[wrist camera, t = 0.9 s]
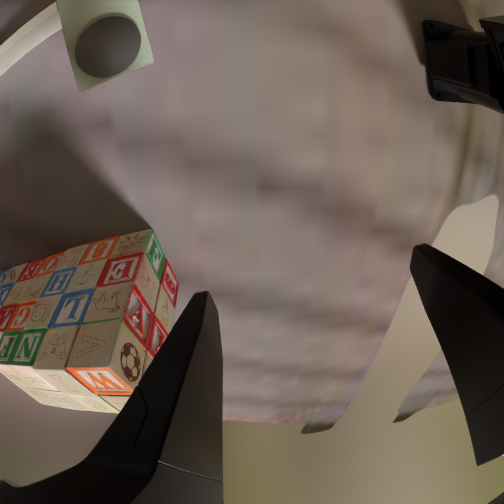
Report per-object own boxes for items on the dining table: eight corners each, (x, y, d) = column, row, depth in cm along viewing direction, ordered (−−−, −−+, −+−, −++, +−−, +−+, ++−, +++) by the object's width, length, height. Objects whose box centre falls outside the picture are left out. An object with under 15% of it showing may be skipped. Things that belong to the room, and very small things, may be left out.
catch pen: (70, -61, 5) (49, -72, 2) (82, 15, 10) (57, 10, 7) (-11, 2, 5) (-35, 3, 3) (-1, 77, 10) (-27, 84, 8)
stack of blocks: (29, 308, 25) (-6, 392, 16) (0, 269, 22) (-48, 355, 12) (181, 283, 24) (165, 418, 14) (154, 225, 20) (108, 372, 11)
